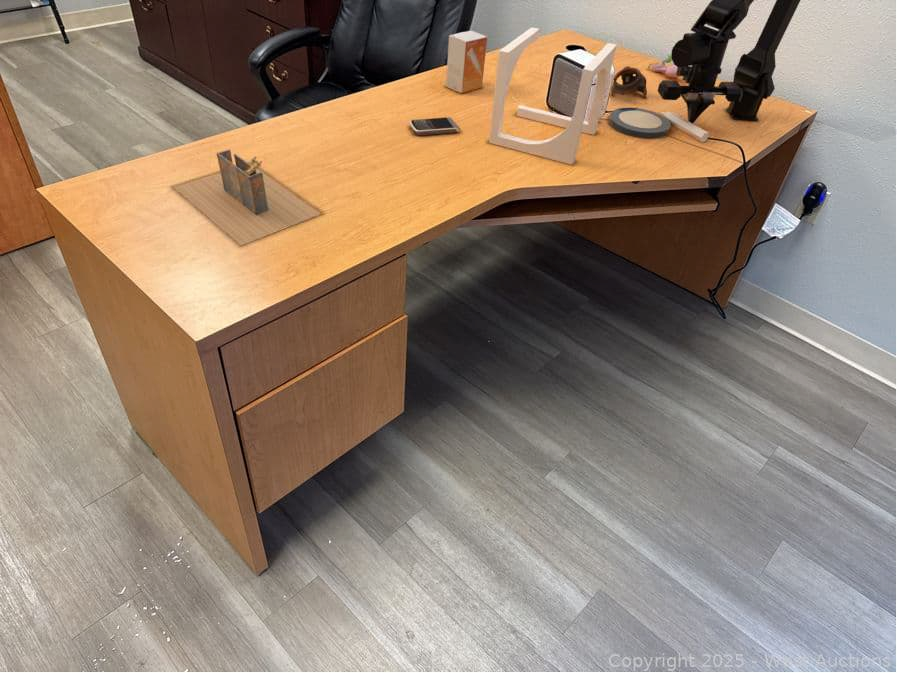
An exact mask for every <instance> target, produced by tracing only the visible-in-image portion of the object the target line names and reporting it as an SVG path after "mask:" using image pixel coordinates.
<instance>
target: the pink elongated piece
mask: <svg viewBox="0 0 897 673" xmlns="http://www.w3.org/2000/svg"><path fill="white" fill-rule="evenodd" d="M667 57H668V58H664V60H662V61H660V62H654V63H653V62H652V63H650V62H649V64H648V66H647V69H650V68H651V70H652V72H653V73H662V74H665V76H666V77H668V78H671V79H673V78H678V77H679V76H677V75H676V73H677V68H678V67H677V66H676V65H674V63H673V64H670V65H669V66H668V67H667V66H666V64H669V63H671V62H673V61H672V57H671V54H668V55H667Z"/></svg>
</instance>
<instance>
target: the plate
mask: <svg viewBox="0 0 897 673" xmlns="http://www.w3.org/2000/svg"><path fill="white" fill-rule="evenodd" d="M608 124H609V125H610V127H611V128H613V129H614V130H615V131H617V132H620V133H622V134H624V135H627V136H631V137H635V138H641V139H657V138H662V137H665V136H667V135H668V134H669V132H670V129H671V126H672V124H671V123H670V121H669V120H668V119H667V118H665V117H664V115H663V114H661V113H658V112H656V111H652V110H649V109H645V108H639V107H620V108H616V109H614V110H612V111H611V112H610V113H609V117H608Z"/></svg>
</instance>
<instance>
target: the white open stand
mask: <svg viewBox="0 0 897 673" xmlns="http://www.w3.org/2000/svg"><path fill="white" fill-rule="evenodd" d="M540 32H541V29H540V28H539V27H538V28H537V27H533V26H532V27H530V28H529V29H527V30H525V31H524V32H523V33H522V34H521V35H519V36H517V37H515V39H513V40H512V41H511V42H509V43H508V44H506V45H505V46H504V47H502V48H501V49H499V51H498V60H497V66H496V67H497V68H496V78H495V86H494V93H493V94H494V95H493V102H492V110H491V121H490V130H489V138H488V143H489V144H492V145H497V146H500V147H504V148H507V149H511V150H516V151H518V152H522V153H526V154H530V155H534V156H538V157H541V158H545V159H549V160H553V161H557V162H561V163H564V164H567V165H572V166H573V165H574V163H575V162H576V159H577V153H578V150H579V149H578V148H579V144H580V141H581V140H580V139H581V136H582V133H584V134H588V135H593V136H594V135H595V134H596V133H597V129H598V127H599V126H598V125H599V122H600V118H601V114H602V108H603V105H604V100H605V97H606V92H607V88H608V84H609V79H610V76H611V71H612V67H613V63H614V59H615V54H616V50H617V46H618V44H616V43H612V42H608V43H606V44H605V46H604V47H602V48H601V50H600V51H599V52H598V53H597V54H596V55H595V56H594V57H593V58H591V60H590V61H589V62H588V63H587V64H586V65H585V66H584V67H583V69H582V71H581V77H580V82H579V86H578V91H577V96H576V101H575V105H574V106H575V107H574V110H573V114H572V116H571V117H570V116H567V115H562V114H558V113H554V112H550V111H546V110H542V109H539V108H534V107H529V106H526V105H522V104H520V105H518V107H517V110H516V117H520V118H524V119H528V120H531V121H536V122H539V123H540V122H541V123H544V124H548V125H552V126H556V127H559V128H560V127H561V128H563V130H562V131H561V132H560V133H558V134H557V135H555V136H552V137H551V138H547V139H543V140H530V139H526V138H521V137H517V136H513V135H510V134H506V133H503V132H502V131H503V130H502V129H503V124H504V114H505V106H506V100H507V95H508V90H509V86H510V83H511V79H512V76H513V73H514V71H515V68H516V66H517V63H518V61H519V60H520V57H521V56H522V54H523V53H524V51H525V50H526V49H527V48H528V47H529V46H530V45H532V44H533V43H534V42H536V41H537V40H538V39H539V37H540ZM595 77H596V83H595V90H594V95H593V100H592V104H591V109H590V112H589V117H588V121H587V120H585V118H586V113H587V109H588V103H589V99H590V95H591V90H592V85H593V82H594V78H595Z"/></svg>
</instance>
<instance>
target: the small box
mask: <svg viewBox="0 0 897 673" xmlns="http://www.w3.org/2000/svg"><path fill="white" fill-rule="evenodd" d="M487 43H488V36H487V35H484V34H481V33H479V32H477V31H474V30H472V29H471V30H467V31H461V32H457V33H454V34H453V33H452V34H449V35H448V46H447V47H448V48H447V64H446V79H445V87H446V88H448V89H450V90H453V91H455V92H457V93H460V94H464V93H467V92H471V91H474V90H477V89H482V88H483V82H484V81H483V80H484V71H485V62H486V54H487Z"/></svg>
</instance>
